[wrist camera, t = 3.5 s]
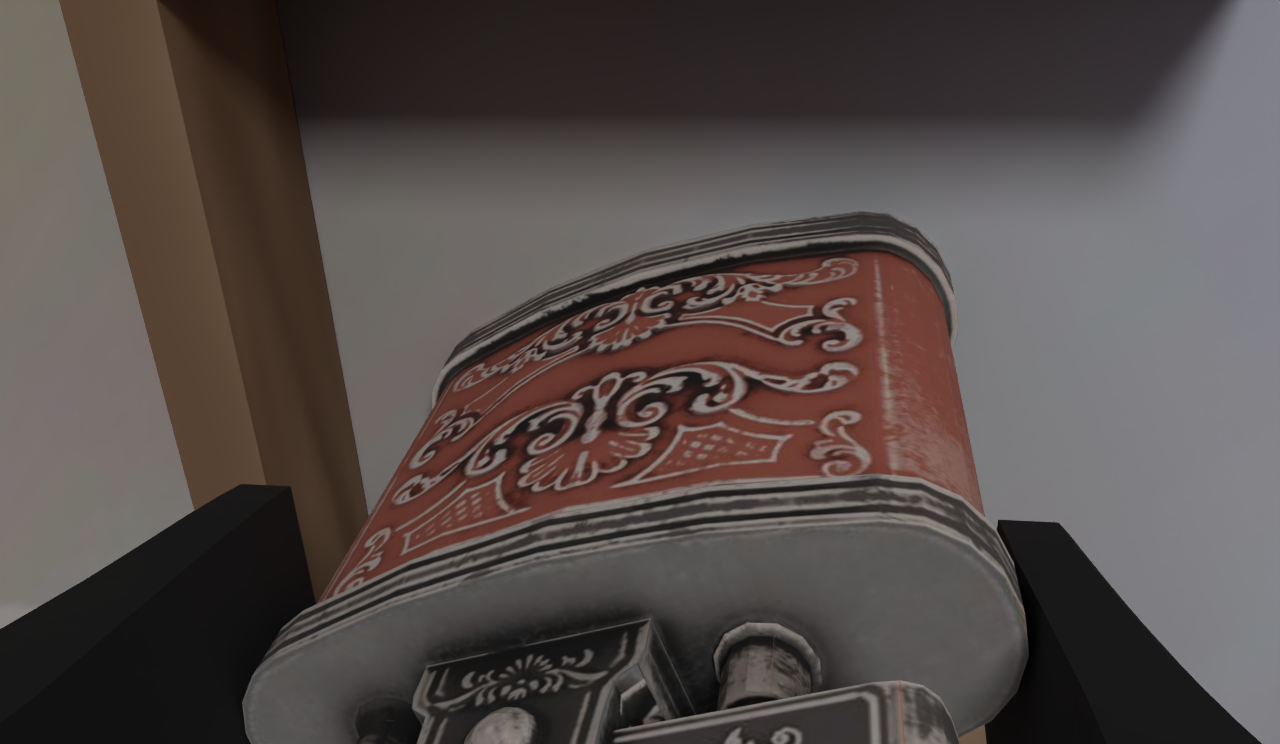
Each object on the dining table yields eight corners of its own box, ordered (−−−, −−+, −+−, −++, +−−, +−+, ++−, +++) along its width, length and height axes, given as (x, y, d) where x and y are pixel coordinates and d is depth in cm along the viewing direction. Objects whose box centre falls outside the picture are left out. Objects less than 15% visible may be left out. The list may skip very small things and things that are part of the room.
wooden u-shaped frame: (1294, -175, 13) (1405, -154, 11) (1109, 722, 20) (1150, 869, 17) (164, -140, 15) (28, -115, 13) (334, 665, 22) (268, 789, 19)
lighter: (498, 497, 20) (235, 1098, 11) (410, 324, 18) (29, 854, 10) (978, 372, 17) (1128, 1012, 9) (918, 164, 16) (1022, 675, 7)
